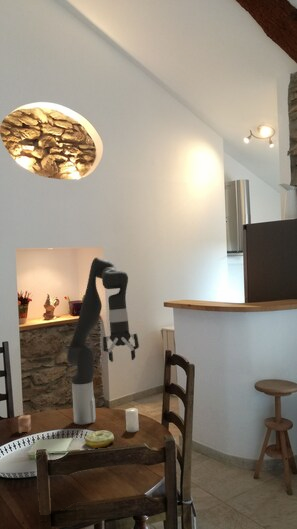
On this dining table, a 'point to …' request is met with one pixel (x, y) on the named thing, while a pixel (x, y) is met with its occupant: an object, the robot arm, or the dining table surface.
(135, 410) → the white rounded cylinder
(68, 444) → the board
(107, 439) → the decorated donut
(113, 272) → the robot arm
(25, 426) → the terracotta block
